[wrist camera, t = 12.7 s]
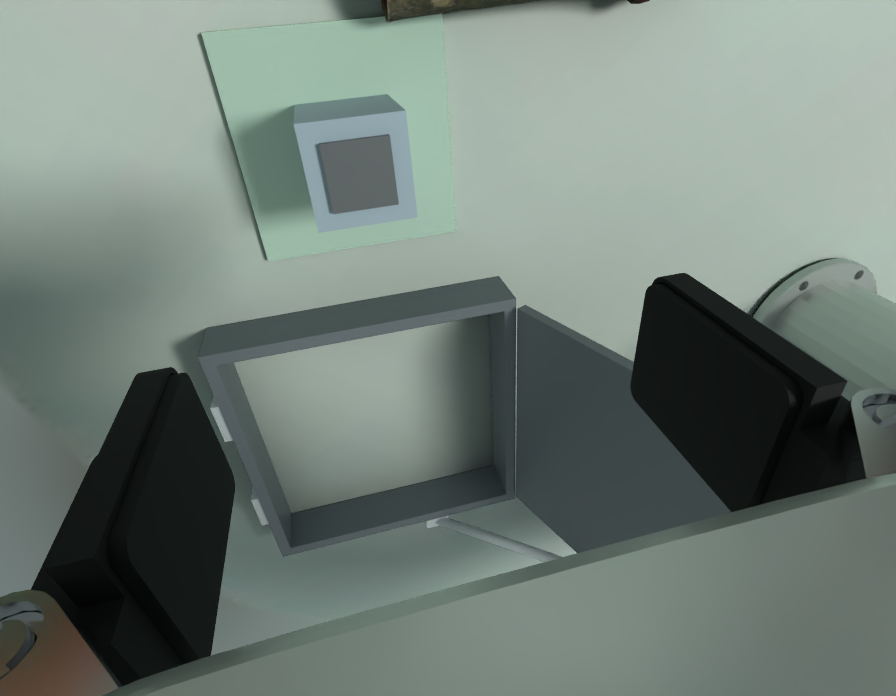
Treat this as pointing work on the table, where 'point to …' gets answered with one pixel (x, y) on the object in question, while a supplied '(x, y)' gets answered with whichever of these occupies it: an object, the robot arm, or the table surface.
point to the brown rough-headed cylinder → (442, 7)
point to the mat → (324, 79)
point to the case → (349, 324)
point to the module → (356, 161)
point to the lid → (594, 444)
